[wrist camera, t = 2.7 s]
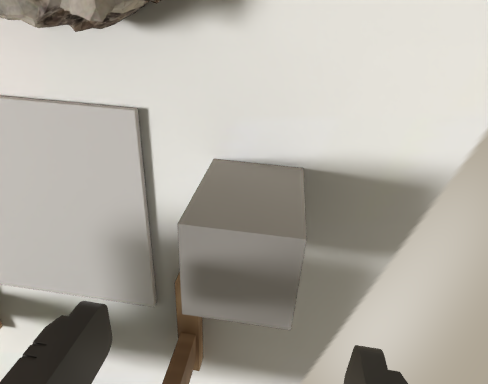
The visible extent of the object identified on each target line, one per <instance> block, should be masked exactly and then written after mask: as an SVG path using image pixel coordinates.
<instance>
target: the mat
mask: <svg viewBox="0 0 488 384" xmlns="http://www.w3.org/2000/svg"><path fill="white" fill-rule="evenodd" d="M0 284H1V285H8V286H14V287H21V288H28V289H35V290H42V291H48V292H55V293H62V294H69V295H75V296H82V297H89V298H96V299H103V300H109V301H116V302H123V303H130V304H136V305H143V306H150V307H155V305H156V303H157V300H156V289H155V279H154V269H153V259H152V249H151V238H150V228H149V218H148V208H147V198H146V187H145V177H144V167H143V157H142V146H141V136H140V126H139V116H138V108H128V107H117V106H106V105H95V104H84V103H73V102H62V101H51V100H40V99H29V98H18V97H7V96H0Z"/></svg>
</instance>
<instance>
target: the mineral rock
mask: <svg viewBox="0 0 488 384" xmlns="http://www.w3.org/2000/svg"><path fill="white" fill-rule="evenodd" d="M149 1H151V2H154V3H158V2H159V1H161V0H0V18H5V19H8V20H22V21H24V22H26V23H28V24H30V25H32V26H34V27H38V28H43V27H54V26H59V25H66V24H67V25H70V26H71V27H72V28H73V29H74V31H75V32H77V31H83V30H86V29H90V28H98V29H103V28H105V27H108V26H111V25H114V24H116V23H117V22H120V21H121V20H122V19H124V18H126V17H127V16H130V15H131V14H132V13H135V12H136V11H137V10H139V9H140V8H142V7H144V6H145V5H146V3H147V2H149Z"/></svg>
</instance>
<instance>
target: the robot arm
mask: <svg viewBox="0 0 488 384" xmlns="http://www.w3.org/2000/svg"><path fill="white" fill-rule="evenodd" d="M111 343H112V331H111V326H110V320H109V314H108V308H107V306H106V305H105V304H99V303H93V302H87V301H82V302H80V303H79V304H78V305H77V306H76V307H75V309H74V310H73V311H72V313H71V314H70V315H69V316H63V315H62V316H60V317H59V318H57V319H56V320H55V321H53V322H52V323H50V324H49V325H48V326H46V327H45V328H44V329H43V331H42V332H41V333H40V334H39V335H38V337H37V338H36V339H35V340H34V342H33V344H32V345H30V346H29V348H28V349H27V350H26V351H25V352H24V354H23V356H22V358H20V359H19V360H18V361H17V362H16V363H15V365H14V366H13V367H12V368H11V369H10V371H9V372H8V373H7V374H6V376H5V377H4V378H3V379H2V380H1V382H0V384H91V383H92V382H93V380H94V378H95V376H96V375H97V373H98V371H99V369H100V368H101V366H102V364H103V362H104V361H105V359H106V357H107V355H108V353H109V350H110V347H111ZM344 384H408V383H407V382H406V380H405V379H404V378H403V376H402V374H401V373H400V372H397V371H391V370H388V369H387V365H386V361H385V357H384V354H383V351H382V350H381V349H376V348H370V347H364V346H358V345H356V346H355V347H354V349H353V352H352V355H351V358H350V362H349V365H348V368H347V371H346V374H345V379H344Z"/></svg>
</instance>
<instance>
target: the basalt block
mask: <svg viewBox="0 0 488 384" xmlns="http://www.w3.org/2000/svg"><path fill="white" fill-rule="evenodd" d="M306 241H307V236H306V215H305V194H304V173H303V168H298V167H288V166H278V165H269V164H259V163H249V162H240V161H230V160H220V159H213V161H212V163H211V165H210V166H209V168H208V170H207V172H206V174H205V175H204V177H203V179H202V181H201V183H200V184H199V186H198V188H197V190H196V192H195V193H194V195H193V197H192V199H191V201H190V202H189V204H188V206H187V208H186V210H185V211H184V213H183V215H182V217H181V219H180V220H179V222H178V243H179V263H180V283H181V303H182V314H184V315H191V316H198V317H205V318H211V319H218V320H225V321H232V322H239V323H245V324H252V325H259V326H266V327H272V328H279V329H286V330H291V327H292V321H293V315H294V309H295V304H296V298H297V292H298V286H299V281H300V275H301V269H302V264H303V258H304V252H305V246H306Z"/></svg>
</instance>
